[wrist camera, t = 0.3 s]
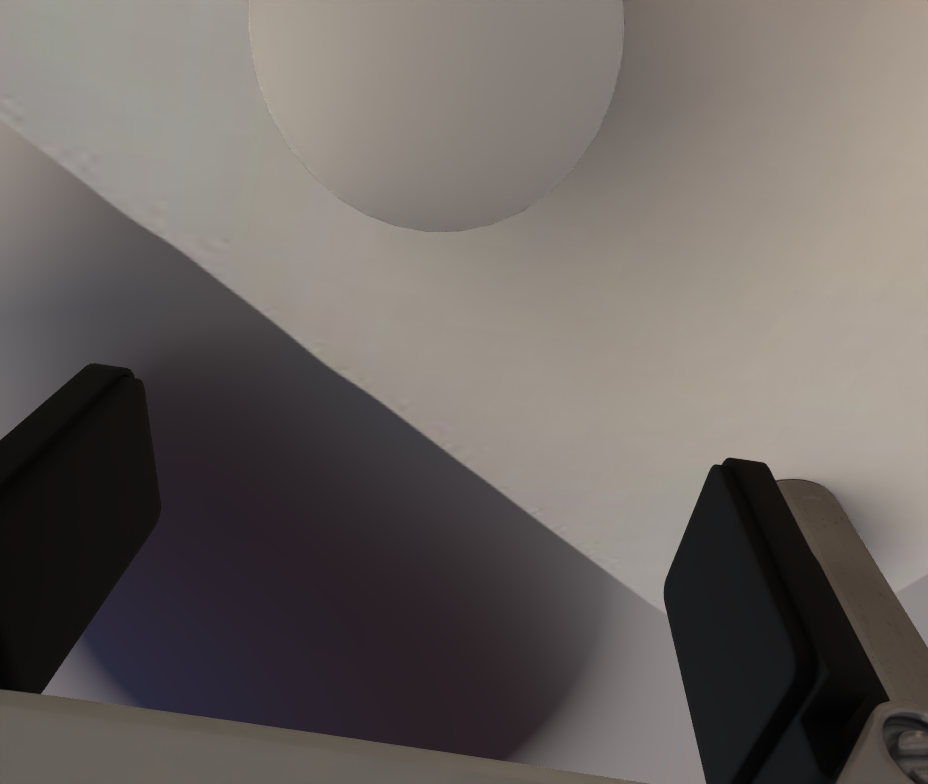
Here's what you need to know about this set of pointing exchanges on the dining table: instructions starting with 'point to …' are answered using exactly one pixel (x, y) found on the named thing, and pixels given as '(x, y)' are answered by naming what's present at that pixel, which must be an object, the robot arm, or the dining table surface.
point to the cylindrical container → (438, 99)
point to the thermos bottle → (861, 592)
